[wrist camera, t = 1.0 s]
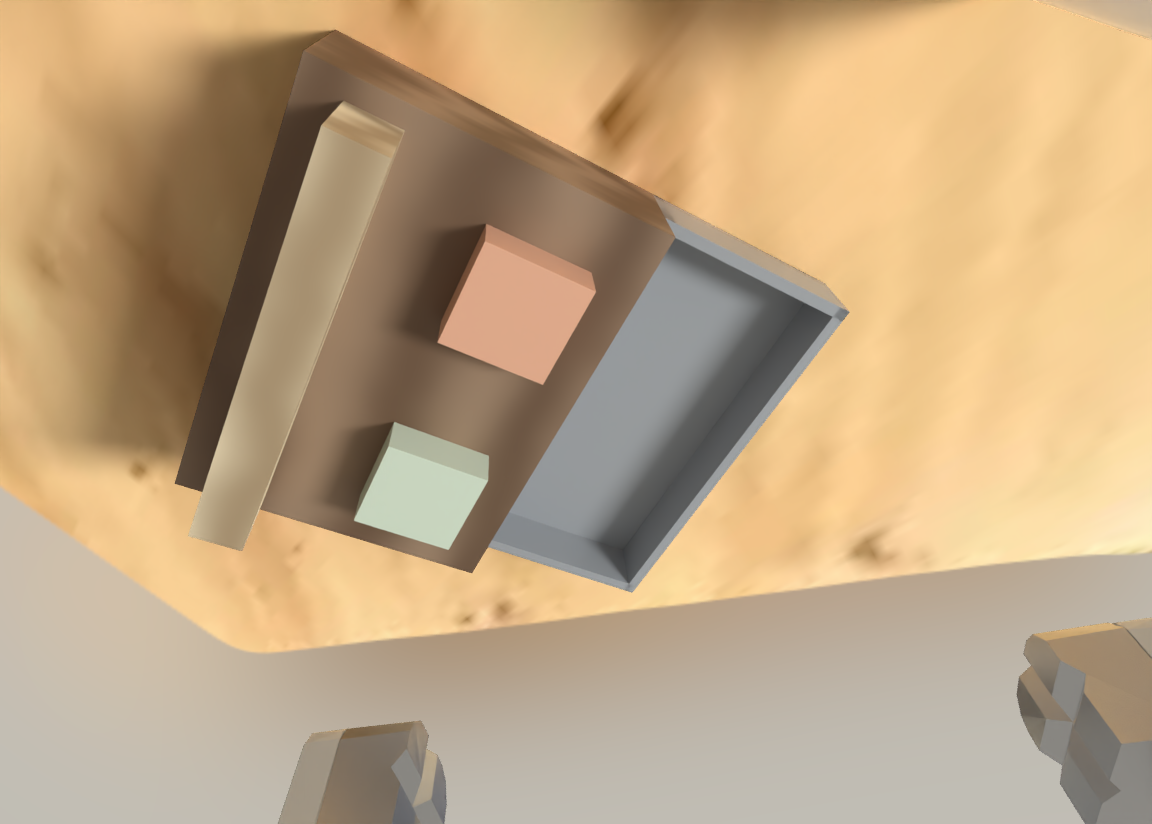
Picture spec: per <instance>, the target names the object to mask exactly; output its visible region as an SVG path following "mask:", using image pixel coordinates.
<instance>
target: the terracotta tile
mask: <svg viewBox="0 0 1152 824" xmlns="http://www.w3.org/2000/svg"><path fill="white" fill-rule="evenodd" d="M595 293H596V289H595V285H594V281H593V276H592V273H591V272H589V271H587V270H585V269H583V268H580V267H578V266H576V265H574V264H572V263H570V262H568V261H565V260H563V259H561V258H559V257H557V256H555V255H553V254H550V253H548V252H546V251H544V250H542V249H540V248H537V247H535V246H533V245H531V244H529V243H527V242H525V241H522V240H520V239H518V238H516V237H514V236H512V235H510V234H507V233H505V232H503V231H501V230H499V229H497V228H494V227H492V226H490V225H488V224H486V226H485V228H484V230H483V232H482V234H481V236H480V238H479V241H478V243H477V245H476V247H475V249H474V251H473V254H472V256H471V258H470V260H469V262H468V264H467V266H466V269H465V271H464V273H463V275H462V277H461V279H460V281H459V284H458V286H457V288H456V290H455V292H454V294H453V297H452V299H451V301H450V303H449V305H448V307H447V309H446V312H445V314H444V316H443V318H442V320H441V324H440V330H439V336H438V342H437V343H440V344H442V345H445V346H447V347H450V348H452V349H455V350H457V351H460V352H462V353H465V354H467V355H470V356H472V357H475V358H477V359H480V360H482V361H485V362H487V363H490V364H492V365H494V366H497V367H499V368H502V369H504V370H507V371H509V372H512V373H514V374H517V375H519V376H522V377H524V378H527V379H529V380H532V381H534V382H537V383H539V384H542V385H543V384H544V382H545V380H546V379H547V377H548V375H549V373H550V372H551V370H552V368H553V366H554V365H555V363H556V361H557V359H558V358H559V356H560V354H561V352H562V351H563V349H564V347H565V345H566V344H567V342H568V340H569V338H570V337H571V335H572V333H573V331H574V330H575V328H576V326H577V324H578V323H579V321H580V319H581V317H582V316H583V314H584V312H585V310H586V309H587V307H588V305H589V303H590V302H591V300H592V298H593V296H594V295H595Z"/></svg>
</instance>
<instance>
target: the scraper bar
mask: <svg viewBox="0 0 1152 824" xmlns="http://www.w3.org/2000/svg"><path fill="white" fill-rule="evenodd" d="M404 131H405V130H403V129H400V128H398V127H396V126H394V125H392V124H390V123H388V122H386V121H384V120H382V119H380V118H378V117H376V116H374V115H372V114H370V113H368V112H366V111H364V110H362V109H360V108H358V107H356V106H354V105H351V104H349V103H347V102H345V101H343V102H342V103H341V104H340V105H339V106H338V107H337V109H336V110H335V111H334V112H333V113H332V114H331V115H330V116H329V117H328V118H327V120H326V121H325V122H324V123H323V124H322V125H321V128H320V131H319V134H318V137H317V140H316V143H315V146H314V149H313V152H312V156H311V159H310V162H309V165H308V168H307V171H306V174H305V177H304V180H303V183H302V186H301V189H300V193H299V196H298V199H297V202H296V205H295V208H294V211H293V214H292V217H291V220H290V223H289V226H288V230H287V233H286V236H285V239H284V242H283V245H282V248H281V251H280V254H279V257H278V260H277V263H276V267H275V270H274V273H273V276H272V279H271V282H270V285H269V288H268V291H267V294H266V297H265V300H264V304H263V307H262V310H261V313H260V316H259V319H258V322H257V325H256V328H255V331H254V334H253V337H252V341H251V344H250V347H249V350H248V353H247V356H246V359H245V362H244V365H243V368H242V371H241V375H240V378H239V381H238V384H237V387H236V390H235V393H234V396H233V399H232V402H231V405H230V408H229V412H228V415H227V418H226V421H225V424H224V427H223V430H222V433H221V436H220V439H219V442H218V445H217V449H216V452H215V455H214V458H213V461H212V464H211V467H210V470H209V473H208V476H207V479H206V482H205V486H204V489H203V492H202V495H201V498H200V501H199V504H198V507H197V510H196V513H195V516H194V519H193V523H192V526H191V529H190V532H189V535H188V536H189V537H193V538H197V539H200V540H204V541H207V542H211V543H214V544H218V545H221V546H225V547H228V548H232V549H236V550H239V551H242V550H243V548H244V546H245V543H246V541H247V539H248V536H249V534H250V531H251V529H252V527H253V524H254V522H255V519H256V517H257V515H258V512H259V510H260V508H261V505H262V503H263V500H264V498H265V496H266V493H267V490H268V488H269V485H270V483H271V480H272V477H273V475H274V472H275V469H276V467H277V464H278V462H279V459H280V456H281V454H282V451H283V448H284V446H285V443H286V441H287V438H288V435H289V433H290V430H291V427H292V425H293V422H294V420H295V417H296V414H297V412H298V409H299V407H300V404H301V401H302V399H303V396H304V393H305V391H306V388H307V386H308V383H309V380H310V378H311V375H312V372H313V370H314V367H315V365H316V362H317V359H318V357H319V354H320V351H321V349H322V346H323V344H324V341H325V338H326V336H327V333H328V330H329V328H330V325H331V323H332V320H333V317H334V315H335V312H336V310H337V307H338V304H339V302H340V299H341V296H342V294H343V291H344V289H345V286H346V283H347V281H348V278H349V275H350V273H351V270H352V268H353V265H354V262H355V260H356V257H357V254H358V252H359V249H360V247H361V244H362V241H363V239H364V236H365V233H366V231H367V228H368V226H369V223H370V220H371V218H372V215H373V212H374V210H375V207H376V205H377V202H378V199H379V197H380V194H381V192H382V189H383V186H384V184H385V181H386V178H387V176H388V173H389V171H390V168H391V165H392V163H393V160H394V157H395V155H396V152H397V150H398V147H399V144H400V142H401V139H402V136H403V134H404Z"/></svg>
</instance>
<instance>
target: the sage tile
mask: <svg viewBox="0 0 1152 824" xmlns="http://www.w3.org/2000/svg"><path fill="white" fill-rule="evenodd" d="M488 469H489V456H488V455H485V454H482V453H480V452H477V451H474V450H471V449H468V448H466V447H463V446H460V445H457V444H454V443H452V442H449V441H446V440H443V439H440V438H438V437H435V436H432V435H429V434H427V433H424V432H421V431H418V430H415V429H413V428H410V427H407V426H404V425H401V424H399V423H396V422H394V423H393V425H392V428H391V430H390V432H389V434H388V436H387V438H386V441H385V443H384V445H383V447H382V449H381V451H380V453H379V456H378V458H377V460H376V462H375V464H374V466H373V468H372V471H371V473H370V475H369V477H368V479H367V481H366V484H365V486H364V488H363V490H362V492H361V494H360V498H359V502H358V506H357V510H356V514H355V517H354V521H356V522H360V523H363V524H366V525H369V526H372V527H376V528H379V529H382V530H385V531H389V532H392V533H395V534H398V535H402V536H405V537H408V538H411V539H415V540H418V541H421V542H424V543H428V544H431V545H434V546H437V547H440V548H444V549H447V550H449V548H450V547H451V545H452V543H453V541H454V540H455V538H456V536H457V534H458V533H459V531H460V529H461V527H462V526H463V524H464V522H465V520H466V519H467V517H468V515H469V513H470V512H471V510H472V508H473V506H474V505H475V503H476V501H477V499H478V498H479V496H480V494H481V492H482V491H483V489H484V487H485V485H486V484H487V482H488Z"/></svg>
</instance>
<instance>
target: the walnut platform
mask: <svg viewBox="0 0 1152 824" xmlns="http://www.w3.org/2000/svg"><path fill="white" fill-rule="evenodd" d="M343 101H345V102H347V103H349V104H351V105H354V106H356V107H358V108H360V109H362V110H364V111H366V112H368V113H370V114H372V115H374V116H376V117H378V118H380V119H382V120H384V121H386V122H388V123H390V124H392V125H394V126H396V127H398V128H400V129H403V130H405V131H404V134H403V136H402V139H401V142H400V144H399V147H398V150H397V152H396V155H395V157H394V160H393V163H392V165H391V168H390V171H389V173H388V176H387V178H386V181H385V184H384V186H383V189H382V192H381V194H380V197H379V199H378V202H377V205H376V207H375V210H374V212H373V215H372V218H371V220H370V223H369V226H368V228H367V231H366V233H365V236H364V239H363V241H362V244H361V247H360V249H359V252H358V254H357V257H356V260H355V262H354V265H353V268H352V270H351V273H350V275H349V278H348V281H347V283H346V286H345V289H344V291H343V294H342V296H341V299H340V302H339V304H338V307H337V310H336V312H335V315H334V317H333V320H332V323H331V325H330V328H329V330H328V333H327V336H326V338H325V341H324V344H323V346H322V349H321V351H320V354H319V357H318V359H317V362H316V365H315V367H314V370H313V372H312V375H311V378H310V380H309V383H308V386H307V388H306V391H305V393H304V396H303V399H302V401H301V404H300V407H299V409H298V412H297V414H296V417H295V420H294V422H293V425H292V427H291V430H290V433H289V435H288V438H287V441H286V443H285V446H284V448H283V451H282V454H281V456H280V459H279V462H278V464H277V467H276V469H275V472H274V475H273V477H272V480H271V483H270V485H269V488H268V490H267V493H266V496H265V498H264V500H263V503H262V505H261V508H260V509H261V510H264V511H267V512H271V513H274V514H277V515H281V516H284V517H287V518H291V519H294V520H297V521H300V522H304V523H307V524H310V525H314V526H317V527H320V528H324V529H327V530H330V531H334V532H337V533H340V534H344V535H347V536H350V537H354V538H357V539H360V540H363V541H367V542H370V543H373V544H377V545H380V546H383V547H387V548H390V549H393V550H397V551H400V552H403V553H407V554H410V555H413V556H416V557H420V558H423V559H426V560H430V561H433V562H436V563H440V564H443V565H446V566H450V567H453V568H456V569H460V570H463V571H466V572H470V573H472V572H473V571H474V569H475V567H476V566H477V564H478V562H479V561H480V559H481V557H482V556H483V554H484V553H485V551H486V549H487V548H488V546H489V544H490V543H491V541H492V539H493V538H494V536H495V534H496V533H497V531H498V529H499V528H500V526H501V524H502V523H503V521H504V520H505V518H506V516H507V515H508V513H509V511H510V510H511V508H512V506H513V505H514V503H515V501H516V500H517V498H518V496H519V495H520V493H521V492H522V490H523V488H524V487H525V485H526V483H527V482H528V480H529V478H530V477H531V475H532V473H533V472H534V470H535V468H536V467H537V465H538V463H539V462H540V460H541V459H542V457H543V455H544V454H545V452H546V450H547V449H548V447H549V445H550V444H551V442H552V440H553V439H554V437H555V435H556V434H557V432H558V431H559V429H560V427H561V426H562V424H563V422H564V421H565V419H566V417H567V416H568V414H569V412H570V411H571V409H572V407H573V406H574V404H575V403H576V401H577V399H578V398H579V396H580V394H581V393H582V391H583V389H584V388H585V386H586V384H587V383H588V381H589V379H590V378H591V376H592V374H593V373H594V371H595V370H596V368H597V366H598V365H599V363H600V361H601V360H602V358H603V356H604V355H605V353H606V351H607V350H608V348H609V346H610V345H611V343H612V342H613V340H614V338H615V337H616V335H617V333H618V332H619V330H620V328H621V327H622V325H623V323H624V322H625V320H626V318H627V317H628V315H629V314H630V312H631V310H632V309H633V307H634V305H635V304H636V302H637V300H638V299H639V297H640V295H641V294H642V292H643V290H644V289H645V287H646V285H647V284H648V282H649V281H650V279H651V277H652V276H653V274H654V272H655V271H656V269H657V267H658V266H659V264H660V262H661V261H662V259H663V257H664V256H665V254H666V253H667V251H668V249H669V248H670V246H671V244H672V243H673V241H674V239H675V238H676V237H675V235H674V233H673V232H672V230H671V228H670V226H669V224H668V222H667V220H666V218H665V216H664V215H663V213H662V211H661V209H660V207H659V205H658V203H657V201H656V199H655V197H654V196H653V194H651V193H649V192H647V191H645V190H644V189H642V188H640V187H638V186H636V185H634V184H632V183H630V182H628V181H626V180H624V179H622V178H620V177H618V176H617V175H615V174H613V173H611V172H609V171H607V170H605V169H603V168H601V167H599V166H597V165H595V164H593V163H591V162H590V161H588V160H586V159H584V158H582V157H580V156H578V155H576V154H574V153H572V152H570V151H568V150H566V149H564V148H563V147H561V146H559V145H557V144H555V143H553V142H551V141H549V140H547V139H545V138H543V137H541V136H539V135H537V134H536V133H534V132H532V131H530V130H528V129H526V128H524V127H522V126H520V125H518V124H516V123H514V122H512V121H510V120H509V119H507V118H505V117H503V116H501V115H499V114H497V113H495V112H493V111H491V110H489V109H487V108H485V107H483V106H482V105H480V104H478V103H476V102H474V101H472V100H470V99H468V98H466V97H464V96H462V95H460V94H458V93H457V92H455V91H453V90H451V89H449V88H447V87H445V86H443V85H441V84H439V83H437V82H435V81H433V80H431V79H430V78H428V77H426V76H424V75H422V74H420V73H418V72H416V71H414V70H412V69H410V68H408V67H406V66H404V65H403V64H401V63H399V62H397V61H395V60H393V59H391V58H389V57H387V56H385V55H383V54H381V53H379V52H377V51H376V50H374V49H372V48H370V47H368V46H366V45H364V44H362V43H360V42H358V41H356V40H354V39H352V38H350V37H349V36H347V35H345V34H343V33H341V32H339V31H337V30H334V31H333V32H331V33H330V34H328V35H327V36H325V37H324V38H322V39H320V40H319V41H317V42H316V43H314V44H313V45H311V46H310V47H308V48H306V49H305V50H303V54H302V57H301V60H300V64H299V67H298V71H297V74H296V77H295V81H294V84H293V87H292V91H291V94H290V97H289V101H288V104H287V108H286V111H285V114H284V118H283V121H282V124H281V128H280V131H279V134H278V138H277V141H276V145H275V148H274V151H273V155H272V158H271V161H270V165H269V168H268V171H267V175H266V178H265V181H264V185H263V188H262V192H261V195H260V198H259V202H258V205H257V208H256V212H255V215H254V218H253V222H252V225H251V229H250V232H249V235H248V239H247V242H246V245H245V249H244V252H243V255H242V259H241V262H240V266H239V269H238V272H237V276H236V279H235V282H234V286H233V289H232V292H231V296H230V299H229V303H228V306H227V309H226V313H225V316H224V319H223V323H222V326H221V329H220V333H219V336H218V340H217V343H216V346H215V350H214V353H213V356H212V360H211V363H210V366H209V370H208V373H207V376H206V380H205V383H204V387H203V390H202V393H201V397H200V400H199V403H198V407H197V410H196V413H195V417H194V420H193V424H192V427H191V430H190V434H189V437H188V440H187V444H186V447H185V450H184V454H183V457H182V461H181V464H180V467H179V471H178V474H177V477H176V481H175V484H178V485H181V486H184V487H188V488H191V489H194V490H198V491H201V492H203V489H204V486H205V482H206V479H207V476H208V473H209V470H210V467H211V464H212V461H213V458H214V455H215V452H216V449H217V445H218V442H219V439H220V436H221V433H222V430H223V427H224V424H225V421H226V418H227V415H228V412H229V408H230V405H231V402H232V399H233V396H234V393H235V390H236V387H237V384H238V381H239V378H240V375H241V371H242V368H243V365H244V362H245V359H246V356H247V353H248V350H249V347H250V344H251V341H252V337H253V334H254V331H255V328H256V325H257V322H258V319H259V316H260V313H261V310H262V307H263V304H264V300H265V297H266V294H267V291H268V288H269V285H270V282H271V279H272V276H273V273H274V270H275V267H276V263H277V260H278V257H279V254H280V251H281V248H282V245H283V242H284V239H285V236H286V233H287V230H288V226H289V223H290V220H291V217H292V214H293V211H294V208H295V205H296V202H297V199H298V196H299V193H300V189H301V186H302V183H303V180H304V177H305V174H306V171H307V168H308V165H309V162H310V159H311V156H312V152H313V149H314V146H315V143H316V140H317V137H318V134H319V131H320V128H321V125H322V124H323V123H324V122H325V121H326V120H327V118H328V117H329V116H330V115H331V114H332V113H333V112H334V111H335V110H336V109H337V107H338V106H339V105H340V104H341V103H342V102H343ZM486 224H488V225H490V226H492V227H494V228H497V229H499V230H501V231H503V232H505V233H507V234H510V235H512V236H514V237H516V238H518V239H520V240H522V241H525V242H527V243H529V244H531V245H533V246H535V247H537V248H540V249H542V250H544V251H546V252H548V253H550V254H553V255H555V256H557V257H559V258H561V259H563V260H565V261H568V262H570V263H572V264H574V265H576V266H578V267H580V268H583V269H585V270H587V271H589V272H591V273H592V276H593V281H594V285H595V289H596V293H595V295H594V296H593V298H592V300H591V302H590V303H589V305H588V307H587V309H586V310H585V312H584V314H583V316H582V317H581V319H580V321H579V323H578V324H577V326H576V328H575V330H574V331H573V333H572V335H571V337H570V338H569V340H568V342H567V344H566V345H565V347H564V349H563V351H562V352H561V354H560V356H559V358H558V359H557V361H556V363H555V365H554V366H553V368H552V370H551V372H550V373H549V375H548V377H547V379H546V380H545V382H544V384H543V385H542V384H539V383H537V382H534V381H532V380H529V379H527V378H524V377H522V376H519V375H517V374H514V373H512V372H509V371H507V370H504V369H502V368H499V367H497V366H494V365H492V364H490V363H487V362H485V361H482V360H480V359H477V358H475V357H472V356H470V355H467V354H465V353H462V352H460V351H457V350H455V349H452V348H450V347H447V346H445V345H442V344H440V343H437V342H438V336H439V330H440V324H441V320H442V318H443V316H444V314H445V312H446V309H447V307H448V305H449V303H450V301H451V299H452V297H453V294H454V292H455V290H456V288H457V286H458V284H459V281H460V279H461V277H462V275H463V273H464V271H465V269H466V266H467V264H468V262H469V260H470V258H471V256H472V254H473V251H474V249H475V247H476V245H477V243H478V241H479V238H480V236H481V234H482V232H483V230H484V228H485V226H486ZM394 422H396V423H399V424H401V425H404V426H407V427H410V428H413V429H415V430H418V431H421V432H424V433H427V434H429V435H432V436H435V437H438V438H440V439H443V440H446V441H449V442H452V443H454V444H457V445H460V446H463V447H466V448H468V449H471V450H474V451H477V452H480V453H482V454H485V455H488V456H489V469H488V482H487V484H486V485H485V487H484V489H483V491H482V492H481V494H480V496H479V498H478V499H477V501H476V503H475V505H474V506H473V508H472V510H471V512H470V513H469V515H468V517H467V519H466V520H465V522H464V524H463V526H462V527H461V529H460V531H459V533H458V534H457V536H456V538H455V540H454V541H453V543H452V545H451V547H450V548H449V550H447V549H444V548H440V547H437V546H434V545H431V544H428V543H424V542H421V541H418V540H415V539H411V538H408V537H405V536H402V535H398V534H395V533H392V532H389V531H385V530H382V529H379V528H376V527H372V526H369V525H366V524H363V523H360V522H356V521H354V517H355V514H356V510H357V506H358V502H359V498H360V494H361V492H362V490H363V488H364V486H365V484H366V481H367V479H368V477H369V475H370V473H371V471H372V468H373V466H374V464H375V462H376V460H377V458H378V456H379V453H380V451H381V449H382V447H383V445H384V443H385V441H386V438H387V436H388V434H389V432H390V430H391V428H392V425H393V423H394Z"/></svg>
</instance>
